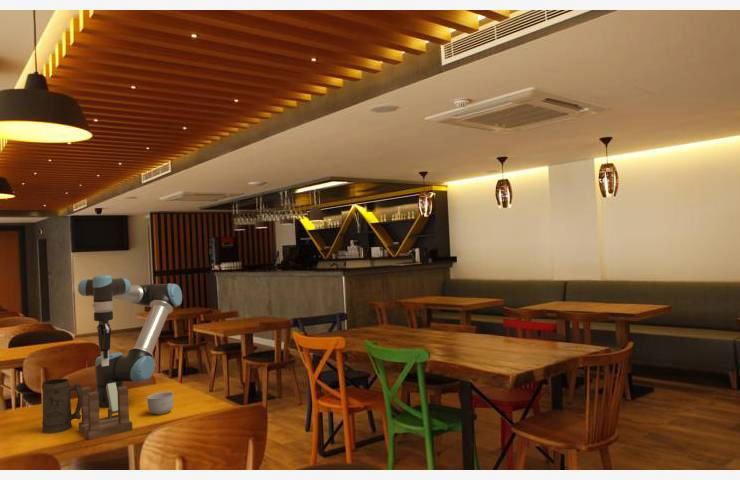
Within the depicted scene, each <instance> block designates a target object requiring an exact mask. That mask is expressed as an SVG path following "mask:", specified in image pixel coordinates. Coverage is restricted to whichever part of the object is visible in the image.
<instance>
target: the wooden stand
mask: <svg viewBox="0 0 740 480" xmlns="http://www.w3.org/2000/svg"><path fill="white" fill-rule="evenodd" d="M117 395H118V413H117V414H116V415H115V414H114V415H113V414H112V410H111V409H110V408H107V416H105V417H101V418H100V407H99V393H98V392H97V391H96V390H95V391H92V387H91V386H84V387H81V409H80V414H81V422H78V430H79V431H80V433H81V434H82V435H83V436H85V437H86V438H87V440H88V441H90V440H94V439H99V438H103V437H108V436H113V435H116V434H121V433H126V432H129V431H133V422H132V421H131V420H130V409H129V407H130V406H129V405H130V404H129V387H128V386H126V385H123V387H118V388H117Z"/></svg>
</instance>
